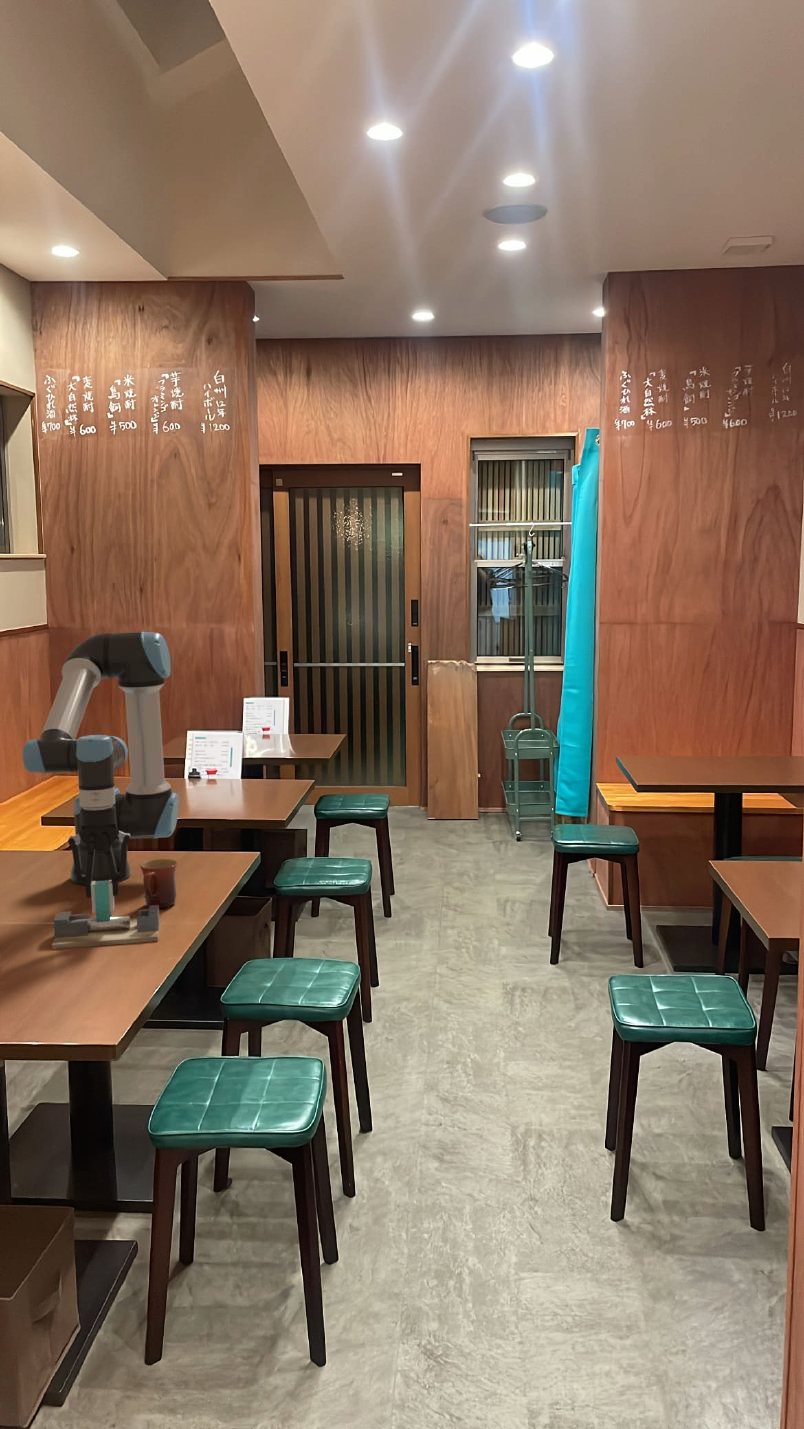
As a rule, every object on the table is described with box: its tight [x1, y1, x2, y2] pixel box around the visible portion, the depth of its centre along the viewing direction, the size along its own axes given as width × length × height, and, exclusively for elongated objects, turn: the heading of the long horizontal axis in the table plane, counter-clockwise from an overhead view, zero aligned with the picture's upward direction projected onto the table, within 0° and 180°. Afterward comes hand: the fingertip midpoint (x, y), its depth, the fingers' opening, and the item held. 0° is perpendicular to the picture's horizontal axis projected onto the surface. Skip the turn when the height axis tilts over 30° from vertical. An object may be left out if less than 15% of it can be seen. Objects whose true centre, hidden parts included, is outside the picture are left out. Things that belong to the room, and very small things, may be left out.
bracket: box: [53, 911, 91, 939], centre depth 235 cm, size 6×7×4 cm
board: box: [51, 916, 161, 950], centre depth 237 cm, size 14×22×1 cm, turn 100°
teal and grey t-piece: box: [69, 880, 131, 932], centre depth 236 cm, size 3×15×11 cm, turn 100°
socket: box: [136, 905, 161, 932], centre depth 238 cm, size 6×4×4 cm
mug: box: [140, 858, 178, 910], centre depth 256 cm, size 12×9×10 cm
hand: (103, 910), depth 236 cm, fingers closed on teal and grey t-piece, 3 cm apart
